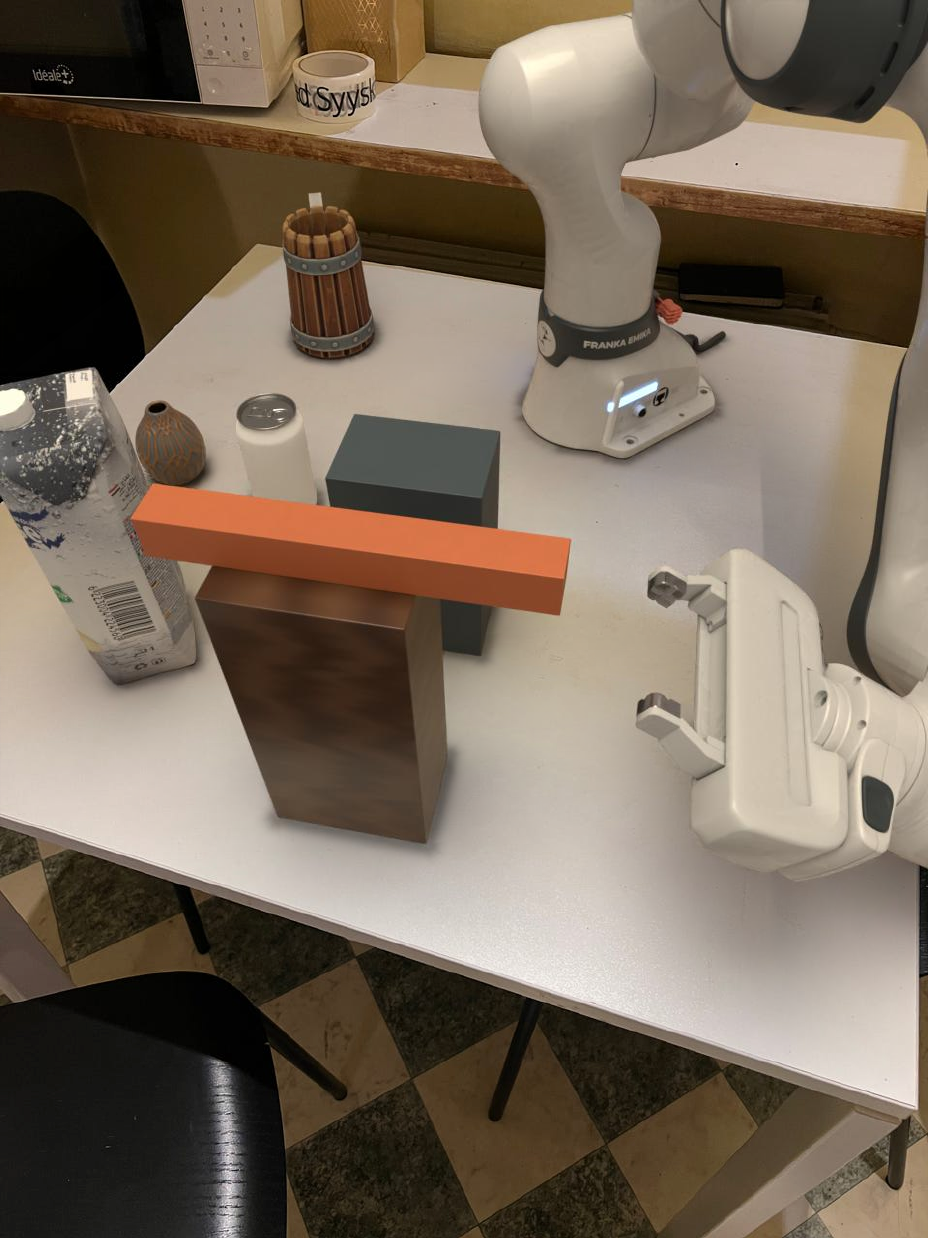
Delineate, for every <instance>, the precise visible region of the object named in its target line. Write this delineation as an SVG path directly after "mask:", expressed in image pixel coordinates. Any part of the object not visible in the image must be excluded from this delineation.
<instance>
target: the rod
mask: <svg viewBox="0 0 928 1238" xmlns="http://www.w3.org/2000/svg"><path fill="white" fill-rule="evenodd" d="M131 522H132V524H133V526H134V529H135V531H136V534H137V536H138V538H139V541H140V543H141V545H142V548H143V550H144V553H145V555H146V556H148V557H155V558H162V559H169V560H176V561H177V562H183V563H190V564H197V565H203V566H204V565H205V566H211V567H212V566H217V567H224V568H231V569H238V570H245V571H252V572H259V573H266V574H273V575H280V576H287V577H294V578H301V579H307V580H314V581H321V582H328V583H335V584H342V585H349V586H356V587H363V588H370V589H377V590H384V591H391V592H398V593H404V594H411V595H418V596H425V597H432V598H439V599H446V600H453V601H460V602H467V603H474V604H481V605H488V606H492V607H496V608H502V609H508V610H515V611H523V612H529V613H537V614H544V615H549V616H550V615H551V616H559V617H560V616H561V612H562V608H563V607H562V606H563V601H564V595H565V588H566V582H567V578H568V569H569V568H568V567H569V560H570V552H571V543H572V539H571V538H569V537H562V536H555V535H547V534H539V533H531V532H524V531H516V530H508V529H502V528H501V529H500V528H498V529H494V528H487V527H479V526H472V525H464V524H456V523H449V522H441V521H434V520H426V519H419V518H411V517H403V516H396V515H388V514H381V513H373V512H366V511H358V510H350V509H343V508H335V507H330V506H327V505H321V504H317V505H313V504H305V503H297V502H290V501H282V500H275V499H267V498H260V497H253V495H243V494H236V493H229V492H222V491H215V490H214V491H213V490H206V489H199V488H191V487H183V486H173V485H167V484H162V483H152V484H151V486H149V490H148V492H147V493H146V495H145V497H144V498H143V500H142V501H141V503H140V504H139V506H138V507H137V509H136V511H135V512H134V514H133V515H132V517H131Z"/></svg>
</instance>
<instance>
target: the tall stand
mask: <svg viewBox="0 0 928 1238" xmlns="http://www.w3.org/2000/svg"><path fill="white" fill-rule="evenodd" d="M194 601H195V603H196V607H197V609H198V611H199V614H200V616H201V620H202V622H203V624H204V627H205V630H206V632H207V635H208V638H209V640H210V643H211V645H212V648H213V651H214V654H215V656H216V658H217V661H218V664H219V667H220V669H221V673H222V674H223V675H222V676H223V677H224V680H225V683H226V685H227V688H228V691H229V692H230V695H231V698H232V701H233V704H234V706H235V709H236V711H237V714H238V717H239V720H240V722H241V725H242V728H243V730H244V732H245V736H246V738H247V741H248V743H249V746H250V748H251V752H252V754H253V756H254V759H255V762H256V764H257V767H258V769H259V772H260V775H261V777H262V780H263V783H264V786H265V788H266V790H267V793H268V796H269V798H270V801H271V804H272V807H273V809H274V811H275V815H276V817H279V818H282V819H289V820H294V821H299V822H305V823H310V824H316V825H322V826H327V827H332V828H338V829H343V830H348V831H354V832H359V833H364V834H370V835H375V836H376V835H377V836H380V837H386V838H391V839H392V838H393V839H398V840H403V841H409V842H412V843H413V842H414V843H419V844H427V841H428V838H429V834H430V830H431V825H432V822H433V821H432V820H433V817H434V813H435V808H436V804H437V800H438V798H439V797H438V796H439V792H440V788H441V784H442V780H443V776H444V773H445V769H446V768H445V767H446V765H447V761H448V760H447V759H448V736H447V714H446V695H445V692H446V691H445V675H444V673H445V672H444V671H445V670H444V653H443V651H444V650H443V649H442V628H441V607H440V599H439V598H432V597H425V596H418V595H411V594H404V593H398V592H391V591H384V590H377V589H370V588H363V587H356V586H349V585H342V584H335V583H328V582H321V581H314V580H307V579H301V578H294V577H287V576H280V575H273V574H266V573H259V572H252V571H245V570H238V569H231V568H224V567H217V566H211V567H210V569H209V570H208V572H207V574H206V576H205V578H204V580H203V582H202V584H201V585H200V588H199V589H198V591H197V593H196V595H195V597H194Z"/></svg>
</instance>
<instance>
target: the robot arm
mask: <svg viewBox="0 0 928 1238" xmlns="http://www.w3.org/2000/svg"><path fill="white" fill-rule="evenodd" d="M479 85H480V86H479V91H478V98H477V99H478V100H477V104H478V105H477V109H478V110H477V111H478V113H477V114H478V119H479V126H480V130H481V134H482V137H483V139H484V143H486V146H487V148H488V150H489V151H490V153H491V154H492V156H493V157H494V159H495V160H496V161H497V163H499V165H501V167H502V168H503V169H504V170H506V171H507V172H508V173H510V174H511V175H513V176H515V177H516V178H517V179H518V180H520V181H521V182H522V183H523V184H524V185H525V186H526V187H527V189H528V190H529V191H530V192H531V193H532V196H533V197H534V199H535V201H536V203H537V205H538V207H539V210H540V213H541V216H542V221H543V225H544V236H545V237H544V238H545V239H544V240H545V255H544V256H545V263H544V265H545V266H544V288H542V290H541V292H540V295H539V302H538V311H537V325H536V326H537V327H536V342H537V353H536V359H535V363H534V369H533V372H532V376H531V379H530V383H529V385H528V389H527V391H526V394H525V395H524V397H523V401H522V406H521V412H522V416H523V419H524V421H525V422H526V424H527V426H528V427H529V428H530V429H531V430H532V431H533V432H534V433H536V434H537V435H538V436H540V437H542V439H545V440H547V441H548V442H551V443H553V444H556V445H559V446H562V447H564V448H565V447H566V448H569V449H575V450H584V451H594V452H595V451H596V452H599V453H601V454H605V455H607V456H610V457H614V458H618V459H628V458H630V457H633V456H634V455H636V454H638V453H640V452H642V451H643V450H645V449H647V448H650V447H651V446H653V445H654V444H656V443H659V442H660V441H662V440H664V439H666V438H667V437H669V436H671V435H673V434H675V433H677V432H679V431H680V430H682V429H684V428H687V427H688V426H690V425H692V424H693V423H695V422H697V421H699V420H702V419H703V418H705V417H707V416H708V415H711V414H712V413H713V412H714V411H715V408H716V399H715V395H714V392H713V389H712V388H711V386H710V385H709V384H708V382H707V381H706V380H705V379H704V377H703V376H702V375H700V362H699V359H698V356H697V354H696V353H703V352H706V351H707V350H709V349H711V348H712V347H714V346H715V345H716V344H717V343H719V342H721V341H722V340H723V339H725V338H726V337H727V333H726V332H725V331H724V330H721V331H720V332H718V333H716V334H715V335H714V336H711V338H709V339H708V340H706V341H705V342H703V343H701V344H699V343H700V341H699V337H698V336H697V335H695V334H692V333H689V334H684V333H682V332H680V331H679V330H676V329H675V328H673V327H671V326H669V325H674V324H677V323H678V322H679V320H680V319H681V318H682V315H683V308H682V307H681V306H680V305H679V304H676V303H674V301H673V300H672V299H671V298H666V299H664V300H663V299H662V298H660V297H661V294H660V293H659V292H658V291H657V290H655V289H654V286H655V285H654V284H655V279H656V272H657V267H658V263H659V255H660V250H661V244H662V234H661V230H660V225H659V222H658V219H657V217H656V216H655V213H654V212H653V211H652V210H651V208H650V207H649V206H648V205H647V204H646V203H645V202H643V201H642V200H640V199H639V198H637V197H636V196H634V195H632V194H630V193H628V192H625V191H623V190H622V186H621V185H622V184H621V179H622V173H623V170H624V168H625V166H626V164H628V163H632V162H638V161H643V160H648V159H652V158H657V157H662V156H666V155H672V154H676V153H683V152H686V151H690V150H692V149H695V148H697V147H700V146H703V145H705V144H707V143H709V142H711V141H714V140H716V139H719V138H720V137H722V136H724V135H726V134H728V133H730V132H733V131H734V130H736V129H737V128H739V127H740V126H741V125H742V124H743V123H744V122H745V121H746V120H747V118H748V116H749V115H750V113H751V111H752V109H753V107H754V105H755V103H757V104H760V105H762V106H764V107H765V106H766V107H768V108H771V109H775V110H779V111H783V112H787V113H792V114H798V115H804V116H811V117H819V118H828V119H834V120H839V121H843V122H849V123H853V124H865V123H867V122H869V121H870V120H871V119H873V118H874V117H875V116H876V115H877V114H878V113H879V112H880V111H881V109H883V107H888V108H891V109H894V110H897V111H899V112H901V113H904V115H906V116H908V118H910V119H911V120H912V121H913V122H914V123H915V124H916V126H917V127H918V129H919V131H920V132H921V134H922V137H923V140H924V142H925V148H926V155H927V156H928V0H631V11H630V12H626V13H620V14H617V15H611V16H605V17H599V18H591V19H586V20H585V19H584V20H580V21H572V22H567V23H560V24H553V25H548V26H545V27H543V28H539V29H537V30H535V31H532V32H530V33H527V34H525V35H523V36H521V37H518V38H516V39H514V40H512V41H510V42H508V43H506V44H503V45H501V46H499V47H497V49H496V50H494V52H493V53H492V55H491V56H490V59H489V61H488V62H487V64H486V67H485V69H484V72H483V74H482V78H481V80H480V84H479ZM926 191H927V192H926V207H925V225H924V227H925V228H924V236H925V237H927V238H925V239H924V250H923V251H924V253H923V255H924V256H923V257H924V258H923V267H922V280H921V288H920V298H919V305H918V308H917V309H918V310H917V315H916V320H915V324H914V331H913V334H912V337H911V340H910V343H909V346H908V348H907V349H906V351H905V352H904V354H903V356H902V358H901V361H900V363H899V366H898V369H897V372H896V375H895V379H894V382H893V387H892V391H891V395H890V401H889V408H888V412H887V413H888V414H887V420H886V428H885V435H884V441H883V442H884V443H883V451H882V457H881V458H882V459H881V467H880V476H879V484H878V492H877V500H876V508H875V515H874V516H875V518H874V525H873V534H872V540H871V541H872V542H871V547H870V552H869V556H868V559H867V563H866V567H865V569H864V572H863V574H862V577H861V580H860V582H859V585H858V588H857V590H856V592H855V594H854V597H853V600H852V603H851V606H850V609H849V612H848V617H847V621H846V645H847V648H848V652H849V655H850V657H851V659H852V662H853V663H854V665H855V666H856V668H857V669H858V670H856V669H855V668H852V667H851V666H849V665H846V664H843V663H838V662H829V663H828V662H827V663H826V656H825V651H824V647H823V640H824V629H823V626H822V623H821V622H820V619H819V615H818V610H817V608H816V607H815V604H814V602H813V600H812V599H811V598H810V596H809V595H808V594H807V593H806V592H805V591H804V590H802V588H801V587H800V586H798V585H797V583H795V582H793V581H792V580H791V579H790V578H789V577H787V576H786V575H785V574H783V573H782V572H781V571H779V570H778V569H777V568H776V567H774V566H773V565H772V564H770V563H769V562H767V561H766V560H764V559H763V558H761V557H760V556H758V555H757V554H756V553H754V552H753V551H751V550H749V549H747V548H742V547H741V548H740V547H739V548H732V549H729V550H727V551H726V552H724V553H723V554H721V555H720V556H719V557H717V558H716V559H714V560H713V561H712V562H710V563H709V564H708V565H707V566H706V567H704V568H703V569H702V570H701V571H700V573H699V574H687V575H685V574H684V573H682V572H680V571H678V570H676V569H675V568H673V567H671V566H669V565H661V566H658V567H657V568H656V569H655V570H654V571H652V572H651V573H650V574H649V575H648V577H647V589H646V591H647V592H646V596H647V598H648V599H649V600H650V601H656V603H657V604H658V605H660V606H661V607H663V608H665V609H668V608H670V606H671V607H672V605H673V604H675V602H676V601H682V602H687V609H689V610H690V611H692V612H693V613H695V614H697V615H696V616H697V617H696V618H697V619H696V641H695V642H696V643H695V668H694V669H695V671H694V697H693V698H694V699H693V725H692V726H691V725H690V724H689V723H688V722H687V721H686V720H685V719H684V718H683V717H682V716H681V715H682V714H681V712H682V711H681V707H682V706H681V703H679V702H678V701H676V700H674V699H672V698H670V699H668V698H667V697H666V695H664V694H663V693H661V692H650V693H649V694H646V696H645V698H640V699H639V700H638V701H637V704H636V705H637V706H636V713H635V728H636V729H638V730H640V731H642V732H644V733H646V734H648V735H649V736H651V737H653V738H655V739H656V740H658V741H657V742H658V744H660V746H661V747H662V749H664V751H665V752H666V754H667V755H668V756H669V757H670V759H671V760H672V761H673V763H674V764H675V766H676V767H677V768H678V769H679V771H680V772H683V773H685V774H687V775H690V776H691V782H690V806H689V808H690V809H689V827H690V829H691V831H692V832H693V835H694V836H695V837H696V838H697V840H698V841H699V844H701V846H702V848H704V849H705V850H707V851H708V852H710V853H712V854H714V855H716V856H718V857H720V858H722V859H725V860H726V861H730V862H731V863H734V864H737V865H739V866H742V867H745V868H748V869H751V870H754V871H757V872H761V873H773V872H775V871H777V872H778V873H779V874H780V875H781V876H783V877H784V878H786V879H788V880H790V881H792V882H795V883H798V882H804V881H810V880H814V879H815V880H816V879H820V878H823V877H827V876H831V875H834V874H837V873H840V872H843V871H846V870H848V869H851V868H853V867H857V866H860V865H861V864H863V863H866V862H869V861H870V860H872V859H874V858H876V857H880V856H881V855H882V854H885V853H886V852H887V851H888V852H890V853H892V854H894V855H897V856H898V857H900V858H903V859H905V860H907V861H909V862H912V863H913V864H916V865H918V866H921V867H922V868H924V869H927V870H928V190H926ZM660 318H662V319H663V320H664V321H665V322H663V321H661V320H660Z"/></svg>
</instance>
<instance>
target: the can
mask: <svg viewBox="0 0 928 1238" xmlns="http://www.w3.org/2000/svg"><path fill="white" fill-rule="evenodd" d="M236 419H237V420H236V422H235V433H236V437H237V441H238V445H239V449H240V453H241V457H242V460H243V461H242V462H243V464H244V468H245V472H246V475H247V480H248V484H249V487H250V491H251V494H252V495H251V496H252V497H260V498H267V499H275V500H282V501H290V502H297V503H305V504H313V505H318V491H317V486H316V482H315V476H314V470H313V464H312V459H311V453H310V448H309V443H308V438H307V437H308V436H307V432H306V427H305V422H304V419H303V416H302V414H301V412H300V411H299V409H297V404H296V402H295V401H294V400H293V399H292V398H291V397H289V396H287V395H285V394H282V393H276V392H266V393H260V394H256V395H253V396H251V397H248V398H247V399H245V400H244V401H243V402H241V403H240V404H239V406H238V408H237V410H236Z"/></svg>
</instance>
